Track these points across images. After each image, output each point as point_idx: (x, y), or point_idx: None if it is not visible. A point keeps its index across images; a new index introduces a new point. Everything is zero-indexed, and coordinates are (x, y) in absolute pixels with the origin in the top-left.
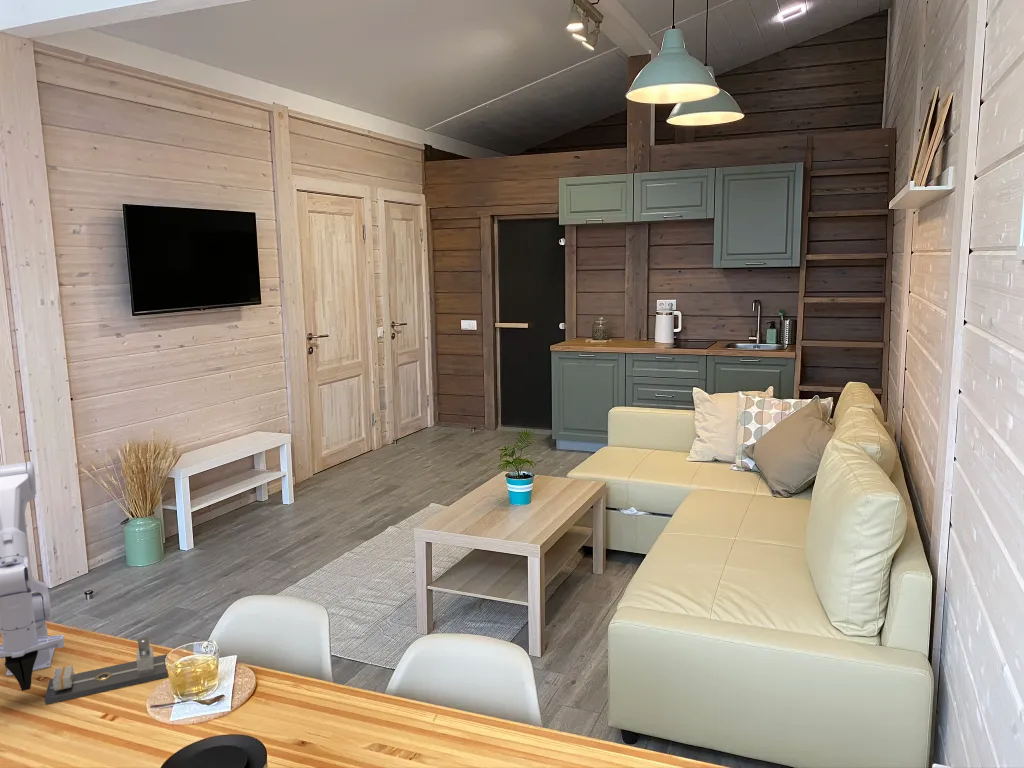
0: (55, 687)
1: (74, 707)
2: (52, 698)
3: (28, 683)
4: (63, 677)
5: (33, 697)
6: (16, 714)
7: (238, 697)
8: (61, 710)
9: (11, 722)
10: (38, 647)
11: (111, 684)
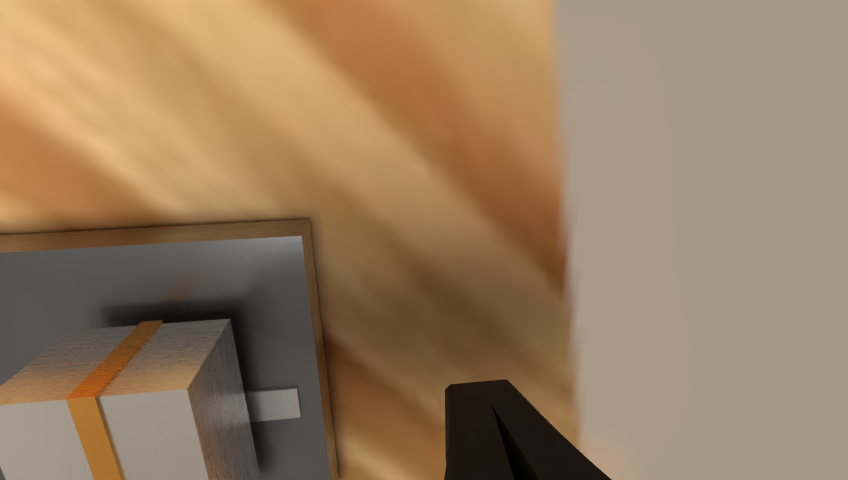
0: (202, 338)
1: (23, 71)
2: (239, 237)
3: (460, 421)
4: (67, 422)
5: (426, 371)
6: (510, 173)
7: None
8: (141, 69)
9: (534, 51)
10: None
11: None
